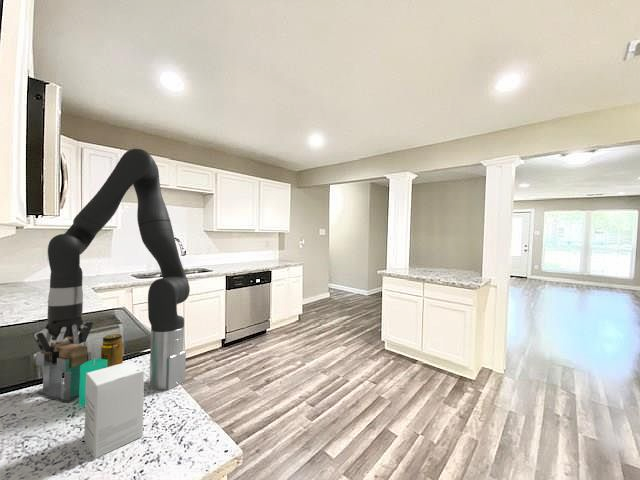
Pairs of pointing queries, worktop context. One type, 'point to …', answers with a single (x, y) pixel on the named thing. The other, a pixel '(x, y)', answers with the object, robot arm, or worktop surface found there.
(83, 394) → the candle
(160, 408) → the worktop surface
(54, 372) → the rack
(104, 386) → the supplement box
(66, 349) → the rail
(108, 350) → the condiment
